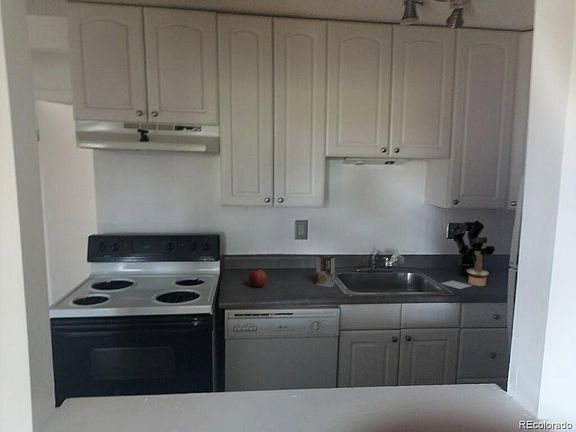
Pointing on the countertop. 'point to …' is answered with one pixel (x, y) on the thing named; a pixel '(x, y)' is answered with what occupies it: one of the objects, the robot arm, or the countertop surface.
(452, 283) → the mat
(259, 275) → the fruit
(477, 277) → the bowl
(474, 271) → the lid
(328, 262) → the coffee box
